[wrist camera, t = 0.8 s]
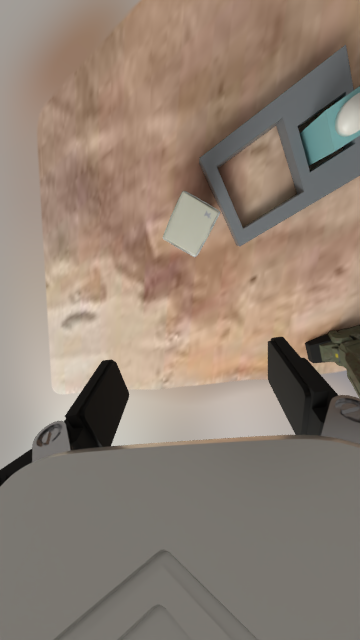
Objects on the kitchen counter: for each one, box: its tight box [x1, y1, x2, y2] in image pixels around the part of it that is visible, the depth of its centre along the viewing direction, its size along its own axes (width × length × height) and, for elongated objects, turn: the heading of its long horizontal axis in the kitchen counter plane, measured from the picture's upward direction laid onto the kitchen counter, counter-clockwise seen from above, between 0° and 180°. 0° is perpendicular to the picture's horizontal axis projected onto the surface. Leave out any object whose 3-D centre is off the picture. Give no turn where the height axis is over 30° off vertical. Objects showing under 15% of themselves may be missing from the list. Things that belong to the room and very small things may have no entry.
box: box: [163, 191, 220, 257], centre depth 25 cm, size 5×4×13 cm
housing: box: [199, 45, 360, 247], centre depth 26 cm, size 18×13×2 cm
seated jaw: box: [300, 86, 360, 166], centre depth 22 cm, size 4×4×7 cm
